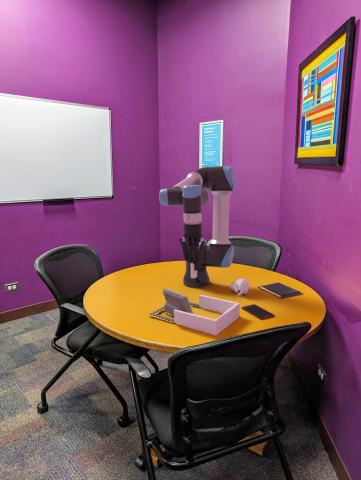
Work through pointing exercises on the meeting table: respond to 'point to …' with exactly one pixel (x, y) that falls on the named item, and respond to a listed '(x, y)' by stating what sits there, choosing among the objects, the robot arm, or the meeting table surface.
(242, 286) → the pale pink lumpy piece
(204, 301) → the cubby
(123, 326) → the meeting table surface
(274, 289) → the wallet
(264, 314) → the cell phone
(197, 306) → the frame
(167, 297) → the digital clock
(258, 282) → the meeting table surface
